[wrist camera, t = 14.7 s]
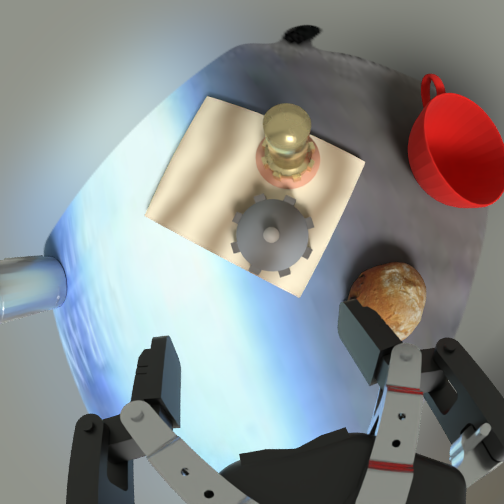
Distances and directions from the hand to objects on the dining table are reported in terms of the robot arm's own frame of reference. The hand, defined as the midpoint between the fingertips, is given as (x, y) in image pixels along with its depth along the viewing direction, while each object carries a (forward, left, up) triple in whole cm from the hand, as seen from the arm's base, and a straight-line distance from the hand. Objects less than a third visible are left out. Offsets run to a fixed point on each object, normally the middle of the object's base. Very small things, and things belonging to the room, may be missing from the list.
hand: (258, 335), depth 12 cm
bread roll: (+13, +3, -22) cm, 26 cm away
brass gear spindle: (-5, +13, -19) cm, 24 cm away
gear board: (-8, +8, -21) cm, 24 cm away
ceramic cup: (+11, +24, -21) cm, 34 cm away
